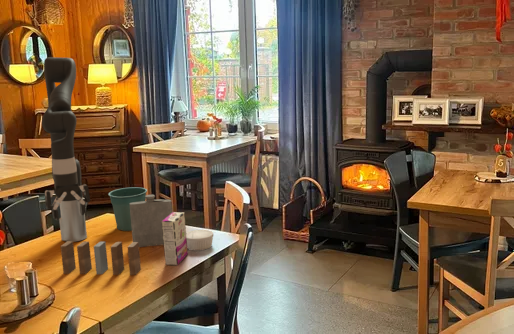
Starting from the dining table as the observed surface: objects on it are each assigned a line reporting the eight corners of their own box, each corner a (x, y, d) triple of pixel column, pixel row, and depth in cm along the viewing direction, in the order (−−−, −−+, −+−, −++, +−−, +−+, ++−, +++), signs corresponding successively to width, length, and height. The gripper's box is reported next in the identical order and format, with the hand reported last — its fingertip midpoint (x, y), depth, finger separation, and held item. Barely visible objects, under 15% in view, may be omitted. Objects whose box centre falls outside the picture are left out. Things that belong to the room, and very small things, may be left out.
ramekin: (179, 246, 203) (178, 233, 202) (204, 240, 210) (203, 227, 209) (194, 254, 194) (193, 240, 193) (219, 247, 201) (218, 234, 200)
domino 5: (130, 275, 177) (127, 246, 175) (135, 269, 181) (132, 241, 180) (135, 275, 176) (133, 247, 174) (140, 269, 181) (138, 242, 179)
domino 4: (113, 274, 177) (110, 246, 176) (118, 269, 182) (116, 241, 180) (118, 274, 177) (116, 246, 175) (124, 269, 182) (121, 241, 180)
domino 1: (63, 273, 180) (60, 246, 178) (70, 268, 185) (67, 241, 183) (68, 273, 180) (66, 246, 178) (75, 268, 185) (73, 241, 183)
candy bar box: (175, 254, 195) (172, 211, 192) (188, 254, 194) (185, 212, 191) (164, 265, 184) (160, 220, 181) (177, 265, 183) (174, 221, 180)
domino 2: (79, 274, 179) (76, 246, 177) (86, 268, 184) (83, 241, 182) (85, 274, 179) (82, 246, 177) (91, 268, 184) (89, 241, 182)
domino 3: (96, 274, 178) (93, 246, 176) (102, 268, 183) (100, 241, 181) (102, 274, 178) (99, 246, 176) (108, 268, 183) (105, 241, 181)
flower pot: (135, 234, 220) (132, 197, 217) (103, 231, 226) (100, 195, 223) (157, 223, 235) (154, 188, 232) (127, 220, 241) (124, 186, 238)
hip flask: (133, 248, 203) (128, 198, 199) (133, 244, 207) (129, 195, 203) (174, 244, 206) (170, 195, 202) (174, 240, 210) (170, 192, 206)
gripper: (82, 166, 182) (87, 210, 185) (39, 172, 174) (45, 218, 177) (89, 169, 176) (93, 215, 179) (45, 176, 168) (50, 224, 171)
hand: (69, 217), depth 178 cm, fingers open, 8 cm apart
